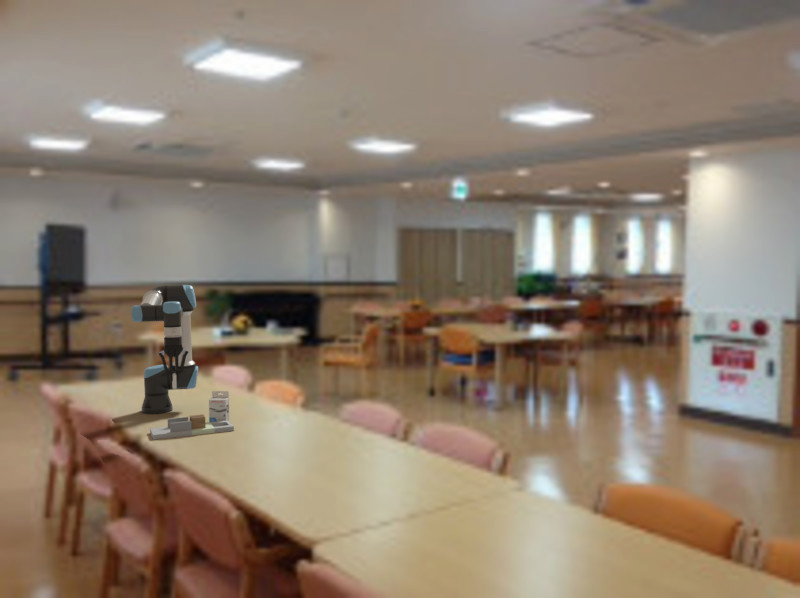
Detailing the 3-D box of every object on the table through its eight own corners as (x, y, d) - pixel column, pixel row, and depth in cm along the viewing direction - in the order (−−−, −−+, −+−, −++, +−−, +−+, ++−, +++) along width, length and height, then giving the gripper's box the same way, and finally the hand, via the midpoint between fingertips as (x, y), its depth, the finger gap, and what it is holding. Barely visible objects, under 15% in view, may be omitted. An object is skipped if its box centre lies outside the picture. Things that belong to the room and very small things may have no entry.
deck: (150, 432, 326) (149, 419, 326) (228, 424, 341) (227, 411, 340) (153, 439, 314) (152, 426, 314) (233, 430, 329) (233, 417, 329)
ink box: (208, 423, 343) (207, 392, 342) (212, 421, 348) (211, 390, 347) (226, 423, 342) (225, 393, 341) (229, 421, 347) (229, 391, 346)
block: (189, 426, 329) (189, 415, 329) (203, 424, 332) (203, 414, 332) (191, 429, 324) (191, 418, 324) (205, 427, 326) (205, 416, 326)
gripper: (158, 338, 316) (160, 391, 318) (189, 336, 322) (190, 388, 324) (156, 336, 323) (158, 388, 325) (186, 334, 329) (188, 385, 331)
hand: (174, 388), depth 324 cm, fingers closed
